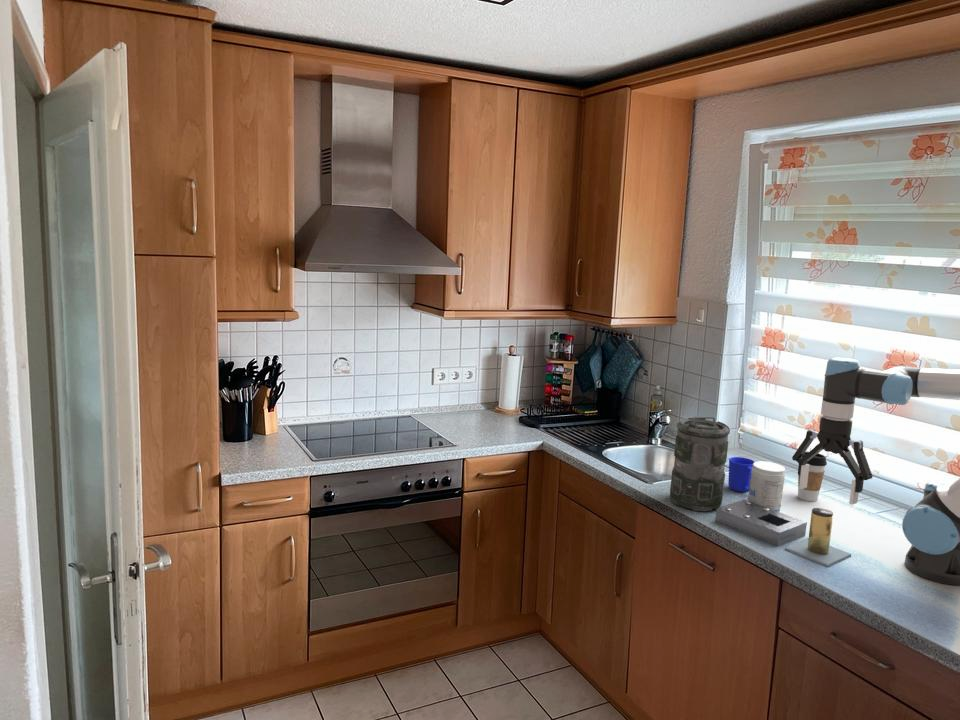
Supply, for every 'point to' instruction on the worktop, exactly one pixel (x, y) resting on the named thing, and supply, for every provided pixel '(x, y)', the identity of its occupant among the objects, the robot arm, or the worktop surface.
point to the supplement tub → (767, 484)
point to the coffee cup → (813, 478)
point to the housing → (761, 522)
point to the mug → (740, 473)
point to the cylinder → (820, 531)
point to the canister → (699, 464)
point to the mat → (824, 559)
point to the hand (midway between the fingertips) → (827, 495)
